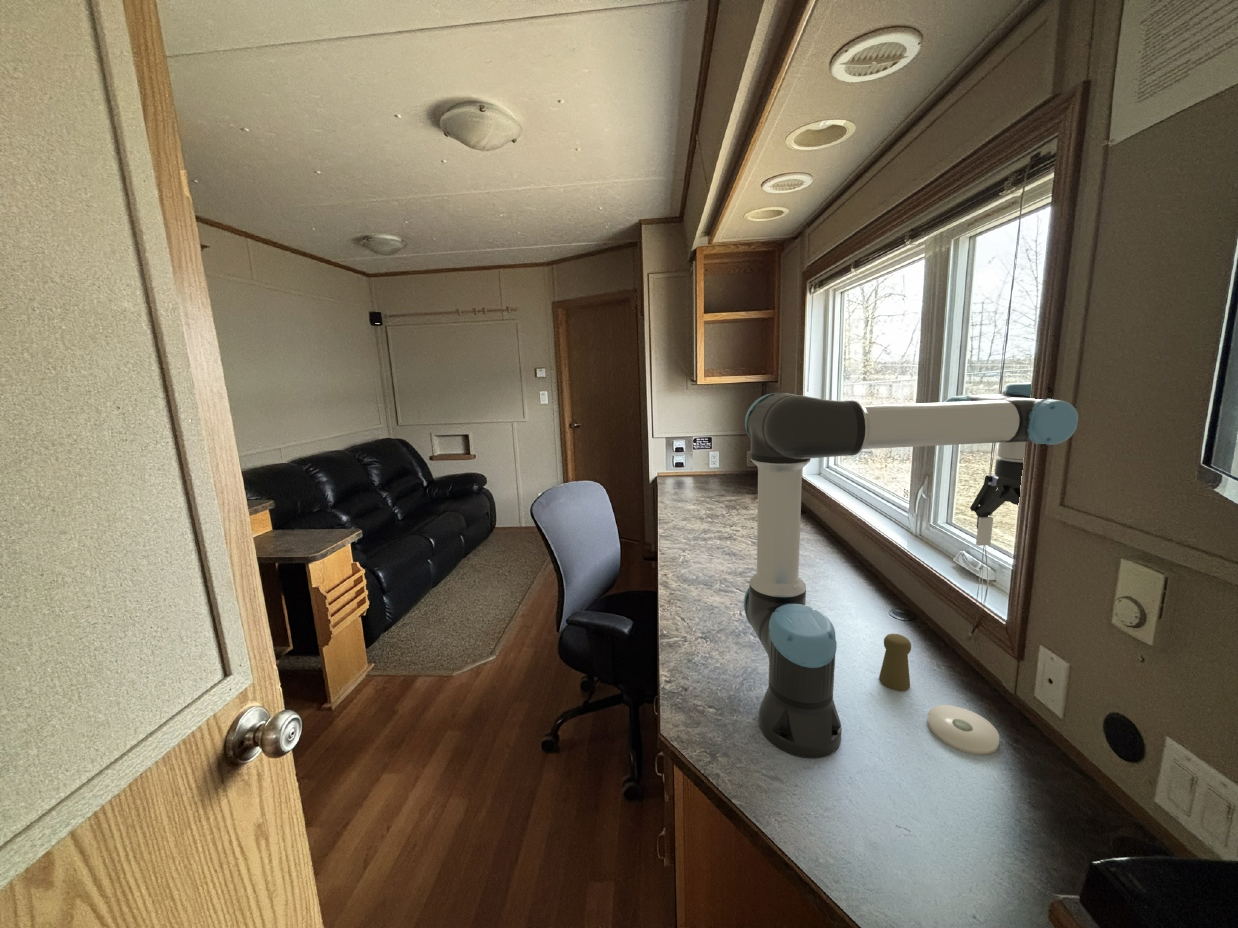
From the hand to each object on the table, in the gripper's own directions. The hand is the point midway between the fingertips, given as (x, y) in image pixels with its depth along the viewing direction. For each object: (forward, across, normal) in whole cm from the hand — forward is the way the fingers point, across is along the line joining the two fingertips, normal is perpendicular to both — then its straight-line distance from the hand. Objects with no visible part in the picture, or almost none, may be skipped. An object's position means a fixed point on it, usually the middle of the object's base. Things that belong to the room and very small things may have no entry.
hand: (1007, 556), depth 100 cm
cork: (+28, -1, +23) cm, 37 cm away
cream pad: (+28, -16, +19) cm, 38 cm away
